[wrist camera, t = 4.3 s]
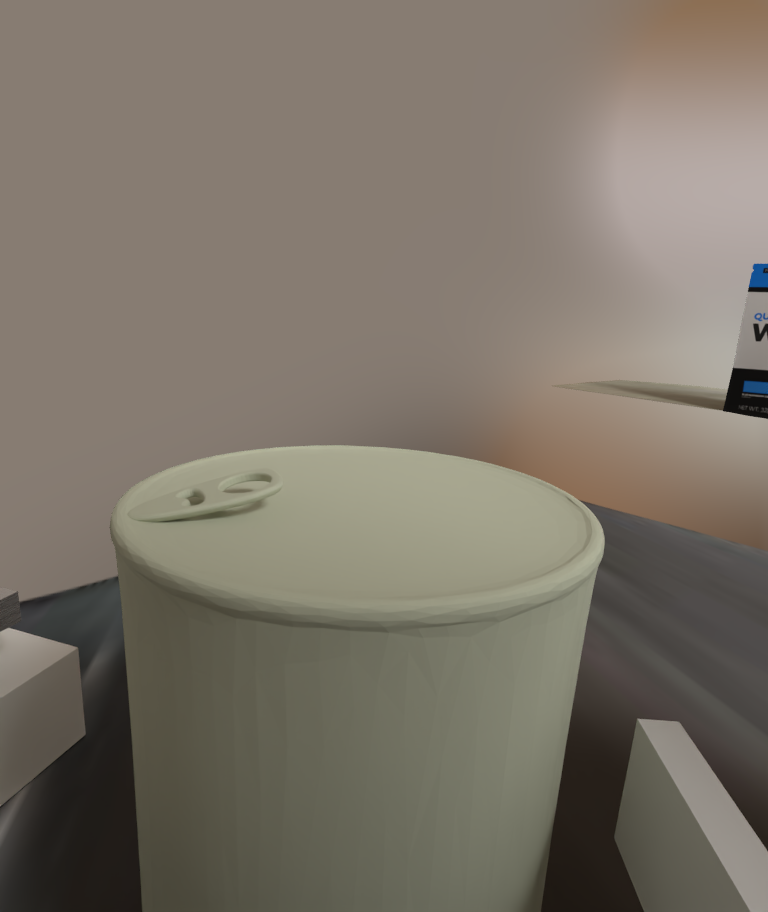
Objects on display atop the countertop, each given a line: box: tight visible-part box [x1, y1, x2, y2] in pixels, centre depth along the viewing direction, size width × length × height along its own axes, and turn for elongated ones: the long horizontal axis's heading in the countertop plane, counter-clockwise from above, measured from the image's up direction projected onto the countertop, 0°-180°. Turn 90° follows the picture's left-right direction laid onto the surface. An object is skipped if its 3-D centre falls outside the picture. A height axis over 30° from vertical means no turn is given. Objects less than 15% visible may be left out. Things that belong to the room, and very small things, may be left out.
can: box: [110, 445, 604, 912], centre depth 12 cm, size 9×9×12 cm
